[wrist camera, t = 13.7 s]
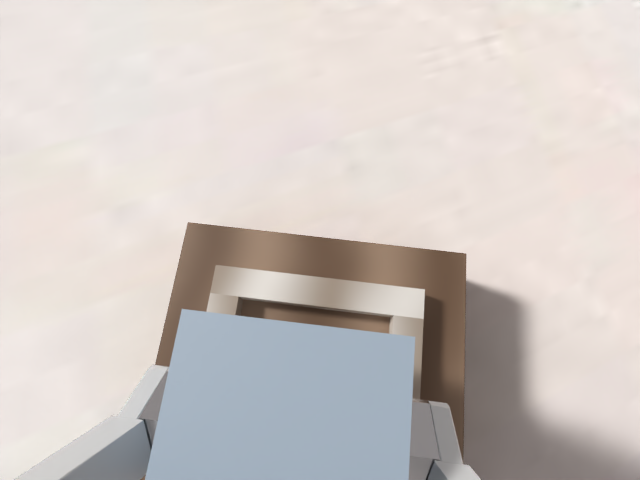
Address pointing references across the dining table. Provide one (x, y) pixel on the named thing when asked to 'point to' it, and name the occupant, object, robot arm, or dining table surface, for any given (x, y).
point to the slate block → (283, 402)
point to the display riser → (332, 295)
